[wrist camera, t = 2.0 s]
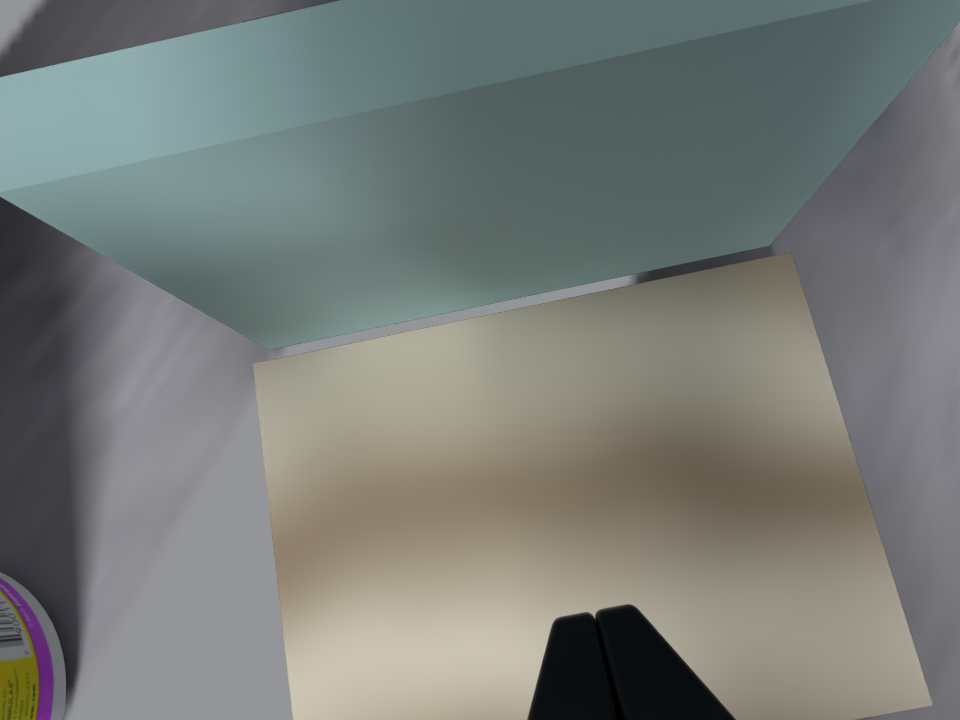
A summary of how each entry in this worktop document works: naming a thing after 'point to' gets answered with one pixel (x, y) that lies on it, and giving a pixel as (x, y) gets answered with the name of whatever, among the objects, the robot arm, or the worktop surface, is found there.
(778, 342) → the plate
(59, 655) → the supplement bottle
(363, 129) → the panel
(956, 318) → the worktop surface
